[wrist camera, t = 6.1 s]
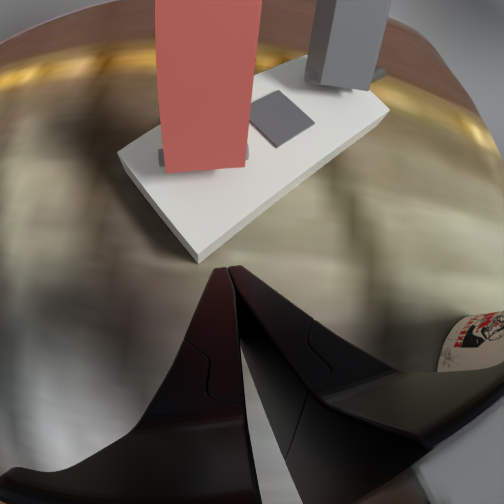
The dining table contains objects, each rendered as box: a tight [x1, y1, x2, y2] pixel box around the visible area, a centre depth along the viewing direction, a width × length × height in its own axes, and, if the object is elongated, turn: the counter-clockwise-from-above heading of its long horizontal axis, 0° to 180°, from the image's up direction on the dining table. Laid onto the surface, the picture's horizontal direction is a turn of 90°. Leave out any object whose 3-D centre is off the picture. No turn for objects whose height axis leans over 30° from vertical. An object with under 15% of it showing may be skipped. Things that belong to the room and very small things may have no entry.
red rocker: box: [155, 0, 262, 174], centre depth 12 cm, size 3×5×10 cm, turn 99°
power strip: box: [117, 55, 390, 264], centre depth 20 cm, size 25×8×3 cm, turn 132°
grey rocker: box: [304, 0, 391, 91], centre depth 15 cm, size 3×5×10 cm, turn 99°
